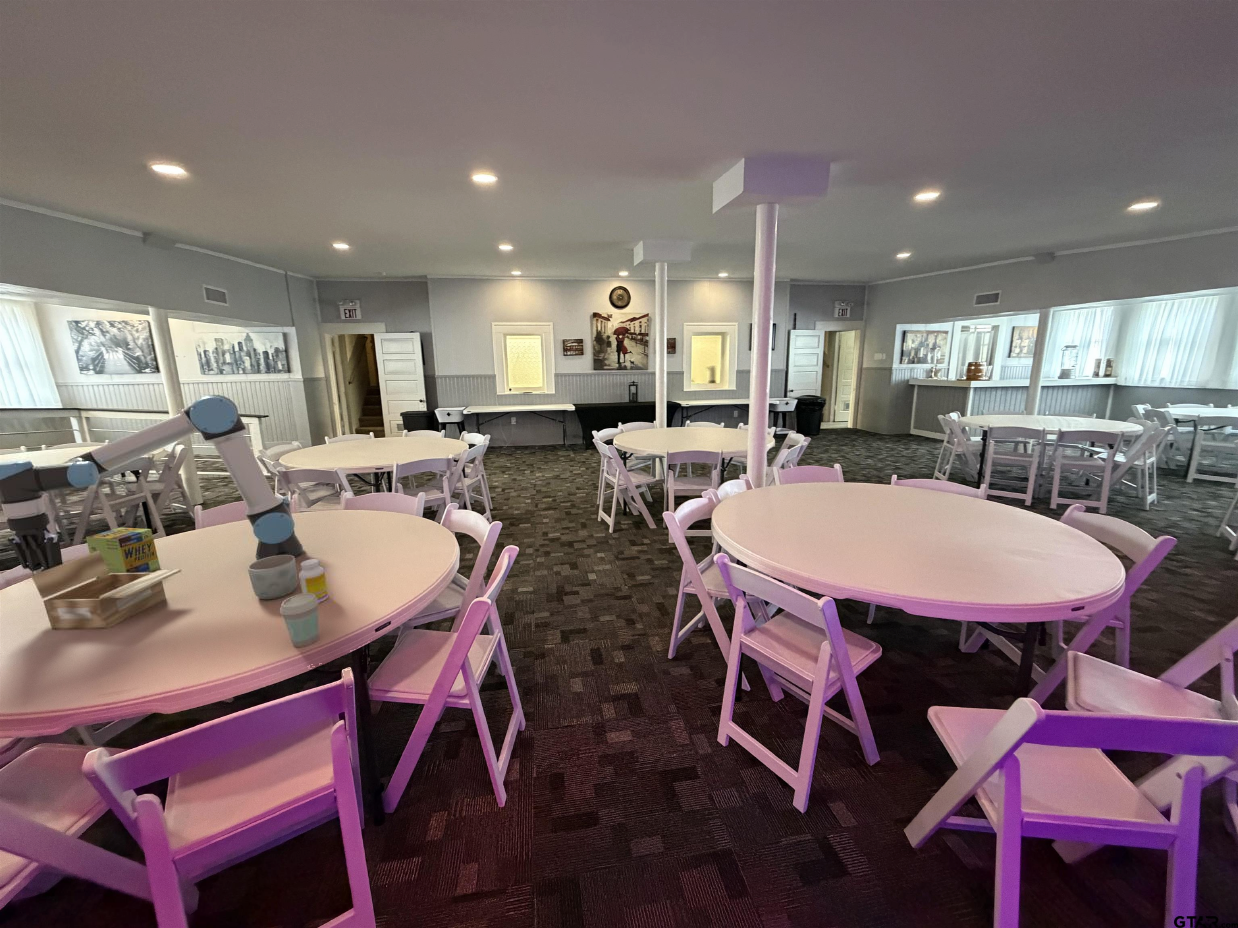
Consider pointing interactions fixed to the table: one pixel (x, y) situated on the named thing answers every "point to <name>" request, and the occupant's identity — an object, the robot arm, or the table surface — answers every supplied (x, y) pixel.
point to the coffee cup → (301, 618)
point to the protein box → (125, 550)
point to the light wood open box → (106, 600)
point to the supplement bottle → (313, 579)
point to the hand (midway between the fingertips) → (50, 589)
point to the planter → (273, 576)
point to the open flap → (69, 574)
